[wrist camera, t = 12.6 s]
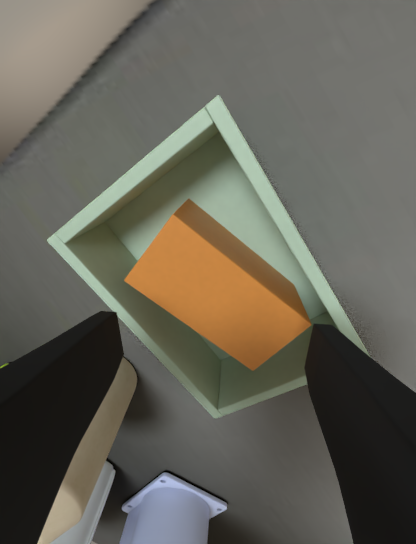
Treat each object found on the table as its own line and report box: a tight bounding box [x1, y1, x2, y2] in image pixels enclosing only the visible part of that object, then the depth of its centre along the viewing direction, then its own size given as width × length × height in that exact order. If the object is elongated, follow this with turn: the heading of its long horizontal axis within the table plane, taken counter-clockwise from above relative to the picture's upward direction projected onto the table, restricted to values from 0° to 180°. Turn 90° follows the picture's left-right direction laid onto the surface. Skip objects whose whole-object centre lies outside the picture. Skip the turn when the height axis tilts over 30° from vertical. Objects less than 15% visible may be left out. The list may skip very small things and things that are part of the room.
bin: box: [47, 95, 370, 419], centre depth 14 cm, size 9×13×4 cm
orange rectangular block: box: [124, 198, 312, 371], centre depth 14 cm, size 4×8×4 cm, turn 51°
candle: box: [37, 357, 137, 544], centre depth 16 cm, size 6×6×10 cm
